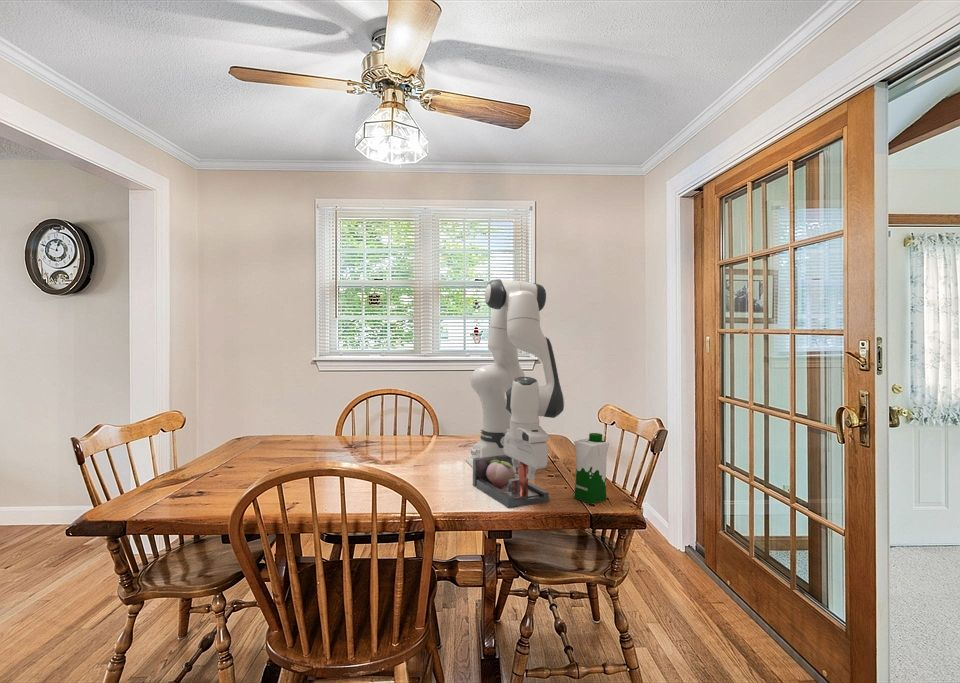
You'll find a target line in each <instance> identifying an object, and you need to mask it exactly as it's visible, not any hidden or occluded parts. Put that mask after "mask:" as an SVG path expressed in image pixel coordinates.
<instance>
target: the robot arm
mask: <svg viewBox="0 0 960 683" xmlns="http://www.w3.org/2000/svg"><path fill="white" fill-rule="evenodd" d="M484 299H485V300H484V301H485V304H486V305H487V306H488V308H491V309H493V311H492V314H491V318H490V325H489V332H488V333H489V334H488V341H487V346H488V347H487V348H488V349H489V351H490V352H491V354H492V357H493V364H486V365H483V366H480V367H478V368H475V370H473V372H472V373H471V376H470V385H471V388H472V389H473V391H474V392H475V393H476V394H477V395H478V397H479V400H480V402H481V406H482V429H480V439H479V440H478V441H477V442H476V443H475V444H474V445H473V446H472V448H471V450H470V455H471V456H468V457H466V458H465V462H466V463H467V464H468V465H469V466H470V467H471V468H472V469H473V458H482V457H491V456H501V455H506V456H509V457H511V458H512V464H513V469H514V474H515V475H516V474H518V475H519V462H522V463H524V464H526V465H528V473H527V479H528V481H530V482H531V481H534V480H535V474H536V471H538V470H540V469H542V470H543V469H545V468H546V467H547V465H548V459H549V447H548V443H547V442H549V434H548V432H546V431H545V430H544V429H543V428H542V427H541V425H540V419H539V417H543V418H551V419H552V418H553V419H555V418H556V417H558V416H559V415H561V414H562V413H563V411H564V409H565V397H564V394H563V391H562V386H561V383H560V378H559V374H558V369H557V363H556V358H555V354H554V350H553V345H552V343H551V340H550V338H548V337H546V336H545V335H544V333H543V331H542V329H541V316H540V311H541V310H543V309H544V307H545V304H546V302H547V292H546V289H545V287H544V286H543V285H541V284H539V283H536V282H533V283H532V282H528V281H525V280H524V281H523V280H509V279H508V280H507V279H499V278H498V279H492V280H490V281H489V282H487V285H486V288H485V291H484ZM518 350H521V351H522V352H526V353H528V354H530V355H533V356H535V357H536V358H538V359H539V360H540V362H541V364H542V366H543V374H544V377H545V385H539V383H538V380H537V379H536V378H534V377H530V376H526V375H525V373H524V370H523V369H522V368H521V366H520V361H519V355H518Z"/></svg>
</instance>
